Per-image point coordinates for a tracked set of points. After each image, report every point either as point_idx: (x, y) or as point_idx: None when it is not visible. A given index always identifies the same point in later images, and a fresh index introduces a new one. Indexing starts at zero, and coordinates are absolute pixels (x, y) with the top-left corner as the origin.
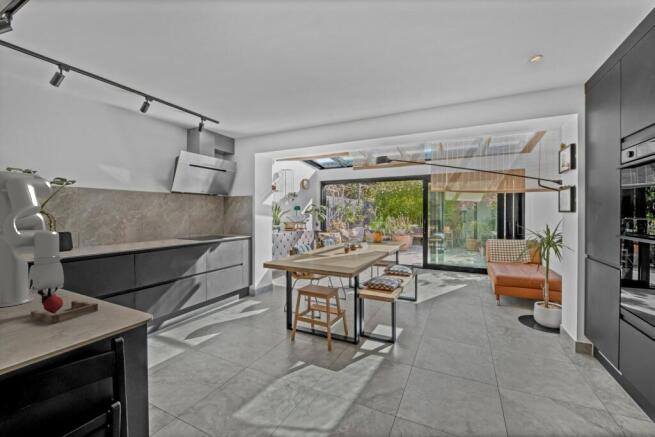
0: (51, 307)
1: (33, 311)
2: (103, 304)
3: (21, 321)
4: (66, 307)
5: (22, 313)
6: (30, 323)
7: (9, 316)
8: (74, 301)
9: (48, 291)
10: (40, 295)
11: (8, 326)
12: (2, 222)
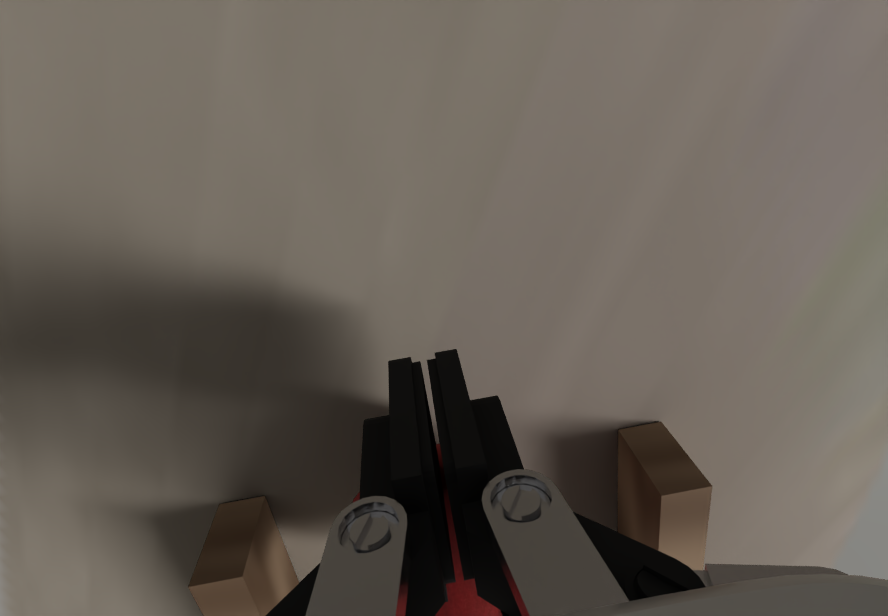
0: None
1: (212, 601)
2: (812, 536)
3: (136, 498)
4: (623, 339)
5: (185, 114)
6: (193, 612)
7: (14, 121)
8: (672, 527)
9: (512, 560)
10: (343, 515)
11: (24, 563)
12: None
